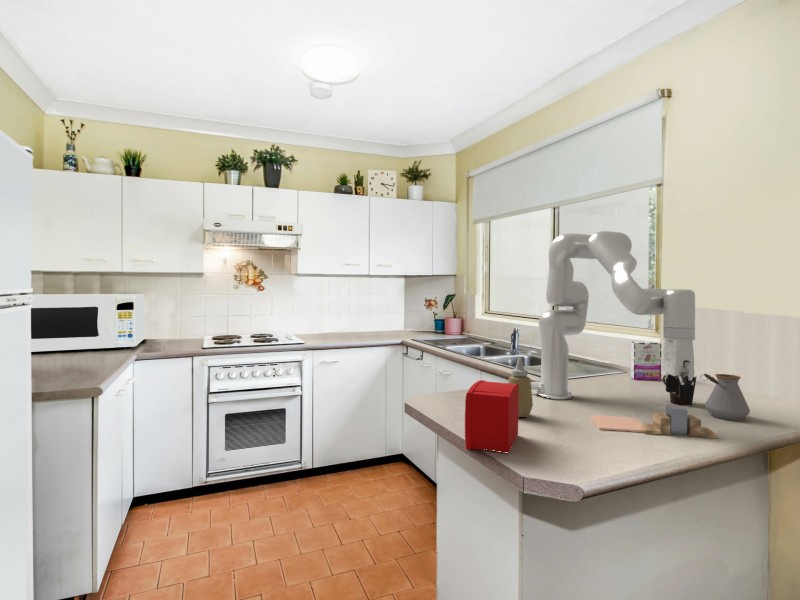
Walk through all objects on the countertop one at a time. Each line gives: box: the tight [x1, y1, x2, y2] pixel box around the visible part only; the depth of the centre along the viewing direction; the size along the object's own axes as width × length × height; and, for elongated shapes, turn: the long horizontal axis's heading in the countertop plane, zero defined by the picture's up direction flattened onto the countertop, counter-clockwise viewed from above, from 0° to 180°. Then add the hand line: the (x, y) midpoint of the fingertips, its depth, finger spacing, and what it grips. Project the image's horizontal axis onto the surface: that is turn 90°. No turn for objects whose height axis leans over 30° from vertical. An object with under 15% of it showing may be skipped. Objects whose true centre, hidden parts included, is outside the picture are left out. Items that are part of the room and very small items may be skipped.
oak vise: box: [637, 411, 719, 440], centre depth 128 cm, size 18×7×4 cm, turn 78°
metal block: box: [665, 404, 689, 436], centre depth 128 cm, size 4×4×7 cm
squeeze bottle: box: [507, 357, 534, 418], centre depth 143 cm, size 8×8×18 cm
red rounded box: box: [464, 379, 519, 453], centre depth 119 cm, size 16×11×15 cm
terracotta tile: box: [589, 414, 644, 433], centre depth 135 cm, size 13×13×1 cm
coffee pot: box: [699, 373, 751, 421], centre depth 141 cm, size 21×12×15 cm, turn 123°
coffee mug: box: [662, 374, 697, 406], centre depth 161 cm, size 12×9×10 cm
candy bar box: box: [630, 341, 662, 382], centre depth 201 cm, size 11×5×16 cm, turn 81°
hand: (678, 395), depth 127 cm, fingers open, 9 cm apart
